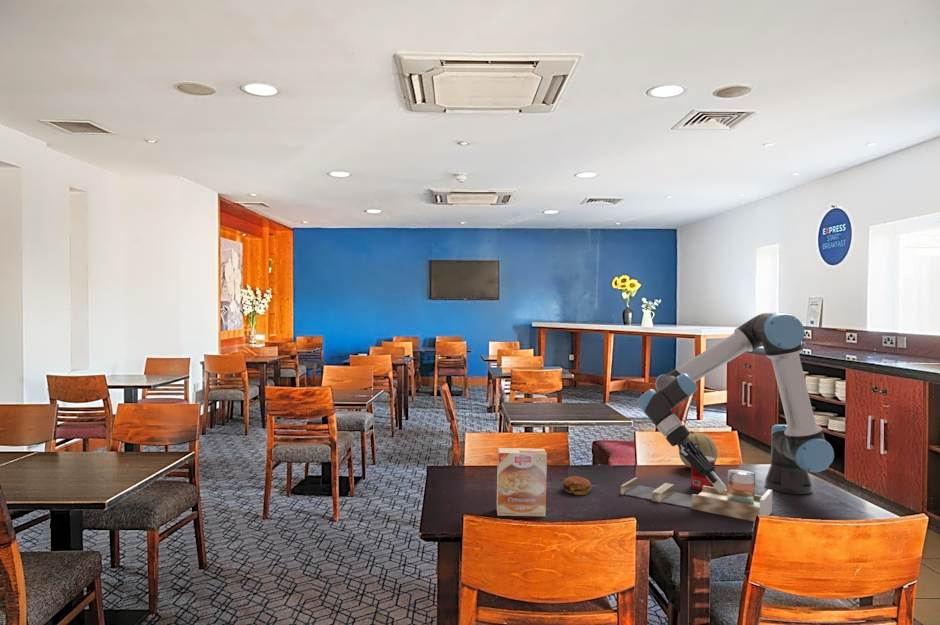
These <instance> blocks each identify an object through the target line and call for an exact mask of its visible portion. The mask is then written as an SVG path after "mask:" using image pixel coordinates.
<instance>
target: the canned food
mask: <svg viewBox="0 0 940 625" xmlns="http://www.w3.org/2000/svg"><path fill="white" fill-rule="evenodd" d="M706 458H707V459H708V461H709V462H710V463H711V465H712V466H713V468H716V462H715V459H714V458H712V457H709V456H706ZM713 471H714V472H715V471H716V469H714V470H713ZM715 473H716V472H715ZM702 476H703V475H701V474H700V473H699V472H698V471H697V470H696V469H695V468H694V467H693V466H692V465H691V468H690V487H691V488H692V489H693V490H696V491H701V492H702V491H703V486H709V487H714V486H713V484H712V483H711V482H710V481H709V480H708V478H707V477H706V476H705V477H702Z"/></svg>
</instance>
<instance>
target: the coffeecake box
mask: <svg viewBox="0 0 940 625" xmlns="http://www.w3.org/2000/svg"><path fill="white" fill-rule="evenodd" d="M547 464H548V453H547V451H546V449H545V448H527V447H526V448H524V447H523V448H522V447H520V448H519V447H517V448H514V447H498V448H497V468H496V469H497V472H496V474H497V475H496V477H497V478H496V514H497V516H498V517H500V516H501V517H502V516H503V517H507V516H509V517H546V515H547V514H546V513H547V475H548V474H547V470H548V465H547Z"/></svg>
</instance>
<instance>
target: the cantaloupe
mask: <svg viewBox="0 0 940 625" xmlns="http://www.w3.org/2000/svg"><path fill="white" fill-rule="evenodd" d="M689 432H690V435H689V436H688V438H689V439H690V440H691V441H692V442H693V443H694V444H695V443H697V444H698V446H699V448H700V449H701V451H702V452H703V454H704V455H705V456H709V457H712V458H714V459H715V463H716V462H717V460H718V455H719V454H718V448H717V446H716V444H715V442H714V440H713V439H712V438H711V437H709V436H708V434H705V433H701V432H694V431H692V430H690V431H689ZM680 452H681V450H680V448H679V447H678V454H679V458H680V460H681V463H683V464H684V465H685V466H686V467H688V468H690V469H691V464H690V463H689V462H688V461H687V460H686V459H685V458H684V457H683V456H682V455H681V454H680Z"/></svg>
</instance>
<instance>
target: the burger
mask: <svg viewBox="0 0 940 625" xmlns="http://www.w3.org/2000/svg"><path fill="white" fill-rule="evenodd" d="M562 484H563V489H564V491H565V492H566V493H568V494H574V495H575V496H586V495H588V494H590V492H591V490H592V485H591V482H590V480H589V479H588V478H585V477H581V476H573V475H572V476H568V477H565V478H564V480H563V481H562Z"/></svg>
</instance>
